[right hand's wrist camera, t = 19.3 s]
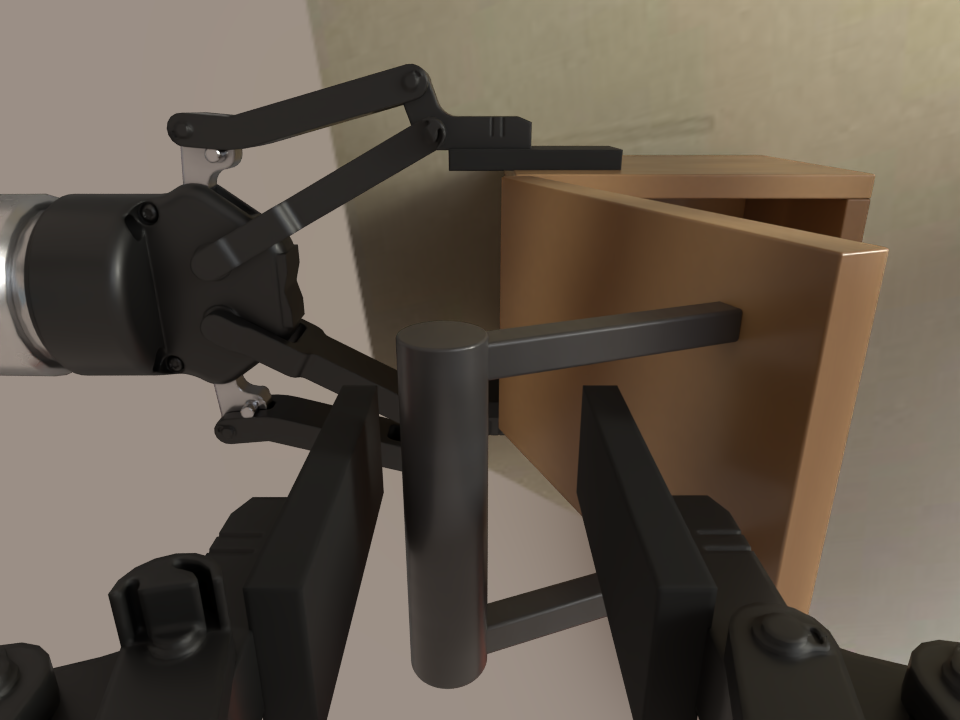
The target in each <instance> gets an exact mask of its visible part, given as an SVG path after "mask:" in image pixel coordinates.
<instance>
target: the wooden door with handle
mask: <svg viewBox="0 0 960 720" xmlns="http://www.w3.org/2000/svg"><path fill="white" fill-rule="evenodd" d="M888 252H889V249H888V248H886V247H882V246H877V245H872V244H867V243H862V242H857V241H852V240H847V239H842V238H837V237H832V236H827V235H822V234H817V233H812V232H807V231H802V230H797V229H792V228H787V227H782V226H777V225H773V224H768V223H763V222H758V221H753V220H748V219H743V218H738V217H733V216H728V215H723V214H718V213H713V212H708V211H703V210H698V209H693V208H688V207H683V206H678V205H673V204H668V203H663V202H658V201H654V200H649V199H644V198H639V197H634V196H629V195H624V194H619V193H614V192H609V191H604V190H599V189H594V188H589V187H584V186H579V185H574V184H569V183H564V182H559V181H554V180H549V179H544V178H539V177H534V176H507V177H502V178H501V267H500V329H499V330H491V331H486V330H484V329H483V328H481V327H479V326H477V325H473V324H470V323H465V322H458V321H431V322H423V323H418V324H414V325H411V326H408V327H406V328H404V329H402V330H401V331H399V332H398V334H397V336H396V352H397V373H398V394H399V415H400V436H401V457H402V478H403V499H404V519H405V540H406V561H407V582H408V603H409V623H410V645H411V663H412V667H413V670H414V672H415V673H416V674H417V676H418V677H419V678H420V679H421V680H422V681H423V682H425V683H427V684H428V685H431V686H433V687H437V688H442V689H453V688H458V687H462V686H465V685H467V684H469V683H471V682H473V681H474V680H475V679H476V678H478V676H479V675H480V674H481V673H482V671H483V670H484V668H485V665H486V662H487V654H488V653H492V652H495V651H498V650H501V649H505V648H508V647H511V646H514V645H517V644H520V643H524V642H527V641H530V640H533V639H536V638H539V637H543V636H546V635H549V634H552V633H556V632H559V631H562V630H565V629H568V628H571V627H575V626H578V625H581V624H584V623H588V622H591V621H594V620H597V619H600V618H603V617H607V613H606V609H605V605H604V601H603V597H602V593H601V589H600V585H599V581H598V577H597V573H594V574H590V575H587V576H583V577H580V578H576V579H573V580H569V581H566V582H562V583H559V584H555V585H552V586H548V587H545V588H541V589H538V590H534V591H531V592H527V593H524V594H520V595H517V596H513V597H509V598H506V599H503V600H499V601H495V602H492V603H488V604H487V563H488V562H487V561H488V380H495V379H499V429H500V430H501V431H502V432H503V433H504V434H505V435H506V437H507V438H508V439H509V440H510V441H511V442H512V443H513V444H514V445H515V446H516V447H517V448H518V449H519V450H520V451H521V452H522V453H523V454H524V455H525V457H526V458H527V459H528V460H529V461H530V462H531V463H532V464H533V465H534V466H535V467H536V468H537V469H538V470H539V471H540V472H541V473H542V474H543V475H544V477H545V478H546V479H547V480H548V481H549V482H550V483H551V484H552V485H553V486H554V487H555V488H556V489H557V490H558V491H559V492H560V493H561V494H562V495H563V497H564V498H565V499H566V500H567V501H568V502H569V503H570V504H571V505H572V506H573V507H574V508H575V509H576V510H577V511H578V512H579V513H580V514H581V515H582V513H581V509H580V505H579V501H578V497H577V493H576V490H577V473H578V456H579V440H580V423H581V407H582V390H583V385H617V386H618V388H619V390H620V392H621V394H622V396H623V398H624V400H625V402H626V404H627V406H628V408H629V410H630V412H631V414H632V416H633V418H634V420H635V422H636V424H637V426H638V428H639V430H640V432H641V434H642V436H643V438H644V440H645V442H646V444H647V446H648V449H649V451H650V453H651V455H652V457H653V459H654V461H655V463H656V465H657V467H658V469H659V471H660V473H661V475H662V477H663V479H664V481H665V483H666V485H667V487H668V489H669V491H670V493H671V495H708V496H709V497H711V498H712V499H713V500H715V501H716V502H717V503H718V504H720V505H721V506H722V507H724V508H725V509H726V510H728V511H729V512H730V514H731V515H732V517H733V519H734V520H735V522H736V523H737V525H738V527H739V528H740V530H741V535H744V536H745V538H746V540H747V541H748V543H749V544H750V546H751V551H754V553H755V554H756V556H757V557H758V559H759V561H760V562H761V564H762V565H763V567H764V569H765V570H766V572H767V574H768V575H769V577H770V578H771V580H772V582H773V583H774V585H775V587H776V588H777V590H778V591H779V593H780V595H781V596H782V598H783V599H784V601H785V603H786V604H787V606H789V607H792V608H795V609H797V610H799V611H801V612H803V613H805V614H807V615H808V613H809V608H810V604H811V599H812V594H813V590H814V585H815V581H816V576H817V572H818V567H819V563H820V558H821V554H822V549H823V545H824V540H825V536H826V531H827V527H828V522H829V518H830V513H831V509H832V504H833V500H834V495H835V491H836V486H837V482H838V477H839V473H840V468H841V464H842V459H843V455H844V450H845V446H846V441H847V437H848V432H849V428H850V423H851V419H852V414H853V410H854V405H855V401H856V396H857V392H858V387H859V383H860V378H861V374H862V369H863V365H864V360H865V356H866V351H867V347H868V342H869V338H870V333H871V329H872V324H873V320H874V315H875V311H876V306H877V302H878V297H879V293H880V288H881V284H882V279H883V275H884V270H885V266H886V261H887V257H888Z"/></svg>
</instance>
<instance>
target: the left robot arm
mask: <svg viewBox="0 0 960 720" xmlns="http://www.w3.org/2000/svg"><path fill="white" fill-rule="evenodd" d="M401 105H404V107H405V110H406V113H407V115H408V118H409V120H410V123H411V126H410V127H408V128H406V129H404V130H403V131H401V132H399V133H398V134H396V135H394V136H393V137H391V138H389V139H388V140H386V141H384V142H383V143H381V144H379V145H378V146H376V147H374V148H372V149H371V150H369V151H367V152H366V153H364V154H362V155H361V156H359V157H357V158H356V159H354V160H352V161H351V162H349V163H347V164H346V165H344V166H342V167H341V168H339V169H337V170H335V171H334V172H332V173H330V174H329V175H327V176H325V177H324V178H322V179H320V180H319V181H317V182H315V183H314V184H312V185H310V186H309V187H307V188H305V189H304V190H302V191H300V192H298V193H297V194H295V195H294V196H292V197H290V198H288V199H287V200H285V201H283V202H281V203H280V204H278V205H276V206H274V207H273V208H271V209H269V210H268V211H266V212H264V213H263V214H261V213H260V212H258V211H257V210H255V209H254V208H252V207H251V206H249V205H248V204H246V203H245V202H243V201H242V200H240V199H239V198H237V197H236V196H234V195H233V194H231V193H230V192H228V191H227V190H225V189H224V188H222V187H221V186H219V185H218V184H217V177H218V175H219V173H220V172H221V171H222V170H224V169H228V168H232V167H235V166H237V165H238V164H239V163H240V161H241V159H242V149H244V148H250V147H256V146H261V145H266V144H270V143H274V142H277V141H281V140H284V139H288V138H291V137H295V136H298V135H301V134H305V133H308V132H312V131H315V130H319V129H322V128H326V127H329V126H332V125H336V124H339V123H343V122H346V121H350V120H353V119H357V118H360V117H363V116H367V115H370V114H374V113H377V112H381V111H384V110H388V109H391V108H394V107H398V106H401ZM531 129H532V122H530V121H527V120H525V119H523V118H521V117H518V116H453V115H450V114H448V113H447V112H445V111H444V110H443V109H442V108H441V106H440V104H439V102H438V99H437V97H436V94H435V91H434V88H433V85H432V83H431V79H430V77H429V75H428V73H427V72H426V71H425V70H423V69H422V68H421V67H419V66H417V65H414V64H406V65H402V66H399V67H396V68H392V69H389V70H385V71H382V72H379V73H375V74H372V75H369V76H365V77H362V78H358V79H355V80H352V81H348V82H345V83H341V84H338V85H335V86H331V87H328V88H325V89H321V90H318V91H314V92H311V93H308V94H304V95H301V96H297V97H294V98H291V99H287V100H284V101H281V102H277V103H274V104H270V105H267V106H264V107H260V108H257V109H253V110H250V111H247V112H243V113H240V114H237V115H229V114H218V113H207V112H203V113H177V114H174V115H173V116H171V117H170V119H169V121H168V123H167V131H168V135H169V137H170V138H171V140H172V141H173V142H175V143H176V144H177V145H179V146H181V159H182V173H183V185H181V186H179V187H177V188H176V189H174V190H173V191H171V192H169V193H165V194H70V195H65V196H62V197H60V198H58V197H55V196H51V195H48V194H0V375H6V376H61V375H67V374H70V373H72V372H73V373H76V374H80V375H168V374H189V375H193V376H196V377H198V378H201V379H203V380H205V381H207V382H209V383H213V384H214V387H215V391H216V395H217V399H218V403H219V407H220V411H221V415H222V417H221V419H220V420H219V421H218V422H217V424H216V426H215V428H214V430H215V435H216V437H217V438H218V439H219V440H220V441H221V442H224V443H226V444H237V443H249V442H262V441H271V442H276V443H280V444H285V445H289V446H293V447H297V448H302V449H306V450H311V449H312V446H313V444H314V442H315V440H316V438H317V436H318V434H319V432H320V430H321V428H322V426H323V424H324V422H325V420H326V418H327V416H328V414H329V412H330V410H331V408H332V406H333V405H329V404H325V403H321V402H316V401H312V400H308V399H304V398H300V397H294V396H289V395H271V394H270V392H269V389H268V388H267V387H265V386H257V385H252V384H250V383H249V382H247V381H246V380H245V378H244V376H243V374H244V373H246V372H247V371H248V370H250V369H251V368H253V367H254V366H255V365H257V364H258V363H259V362H260V363H262V364H264V365H266V366H268V367H270V368H272V369H274V370H277V371H279V372H281V373H283V374H285V375H287V376H290V377H294V378H296V377H303V378H306V379H308V380H310V381H312V382H314V383H316V384H318V385H320V386H322V387H324V388H326V389H329V390H331V391H333V392H335V393H337V394H339V392H340V390H341V388H342V386H343V385H377V390H378V407H379V414H381V415H383V416H385V417H387V418H384V417H380V416H379V423H380V440H381V456H382V467H385V468H389V469H394V470H398V471H402V457H401V436H400V415H399V394H398V373H397V370H395V369H393V368H391V367H389V366H387V365H385V364H383V363H381V362H379V361H377V360H375V359H373V358H371V357H369V356H367V355H365V354H363V353H361V352H359V351H357V350H355V349H353V348H351V347H349V346H347V345H344V344H343V343H341V342H339V341H336V340H334V339H332V338H330V337H328V336H327V335H326V334H325V333H324V332H323V330H322V329H320V328H319V327H317V326H316V325H314V324H312V323H310V322H307V321H305V320H303V319H301V318H302V317H303V315H304V314H305V313H304V303H303V296H302V294H301V291H300V288H299V286H298V283H297V274H298V268H299V252H298V245H294V244H293V242H292V240H291V238H290V235H292V234H294V233H295V232H297V231H299V230H300V229H302V228H304V227H305V226H307V225H309V224H310V223H312V222H314V221H316V220H317V219H319V218H321V217H322V216H324V215H326V214H328V213H329V212H331V211H333V210H334V209H336V208H338V207H340V206H341V205H343V204H345V203H346V202H348V201H350V200H352V199H353V198H355V197H357V196H358V195H360V194H362V193H364V192H365V191H367V190H369V189H370V188H372V187H374V186H376V185H377V184H379V183H381V182H382V181H384V180H386V179H388V178H389V177H391V176H393V175H394V174H396V173H398V172H400V171H401V170H403V169H405V168H406V167H408V166H410V165H412V164H413V163H415V162H417V161H418V160H420V159H422V158H424V157H425V156H427V155H429V154H430V153H432V152H434V151H436V150H449V171H514V170H621V165H622V152H623V150H621V149H618V148H614V147H611V146H531ZM388 418H389V419H388ZM488 435H505V434H504V433H503V432H502V431H501V430H500V429H499V379H495V380H488Z"/></svg>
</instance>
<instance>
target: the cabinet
mask: <svg viewBox="0 0 960 720" xmlns="http://www.w3.org/2000/svg"><path fill="white" fill-rule="evenodd" d="M507 176H534V177H539V178H544V179H549V180H554V181H559V182H564V183H569V184H574V185H579V186H584V187H589V188H594V189H599V190H604V191H609V192H614V193H619V194H624V195H629V196H634V197H639V198H644V199H649V200H654V201H658V202H663V203H668V204H673V205H678V206H683V207H688V208H693V209H698V210H703V211H708V212H713V213H718V214H723V215H728V216H733V217H738V218H743V219H748V220H753V221H758V222H763V223H768V224H773V225H777V226H782V227H787V228H792V229H797V230H802V231H807V232H812V233H817V234H822V235H827V236H832V237H837V238H842V239H847V240H852V241H857V242H862V238H863V233H864V228H865V224H866V219H867V214H868V209H869V204H870V199H869V198H870V197H871V194H872V189H873V184H874V179H875V175H874V174H870V173H864V172H858V171H852V170H846V169H840V168H834V167H828V166H822V165H816V164H810V163H804V162H798V161H792V160H786V159H780V158H774V157H768V156H763V155H622V165H621V170H514V171H504V177H507Z"/></svg>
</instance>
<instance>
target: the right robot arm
mask: <svg viewBox="0 0 960 720" xmlns="http://www.w3.org/2000/svg"><path fill="white" fill-rule="evenodd" d="M383 493H384V490H383V473H382V456H381V440H380V423H379V407H378V390H377V385H343V386H342V388H341V390H340V392H339V394H338V396H337V398H336V400H335V402H334V404H333V406H332V408H331V410H330V412H329V414H328V416H327V418H326V420H325V422H324V424H323V426H322V428H321V430H320V432H319V434H318V436H317V438H316V440H315V442H314V444H313V446H312V449H311V451H310V453H309V455H308V457H307V459H306V461H305V463H304V465H303V467H302V469H301V471H300V473H299V475H298V477H297V479H296V481H295V483H294V485H293V487H292V489H291V491H290V493H289V495H288V497H252V498H251V499H250V500H248V501H247V502H246V503H245V504H243V505H242V506H241V507H239V508H238V509H237V510H235V511H234V512H233V513H231V515H230V516H229V518H228V520H227V521H226V523H225V524H224V526H223V528H222V529H221V531H220V533H219V537H217V538H216V539H215V541H214V542H213V544H212V546H211V547H210V549H209V553H207V554H206V555H205V556H204V555H201V554H197V553H178V554H172V555H168V556H164V557H160V558H156V559H153V560H151V561H149V562H147V563H144V564H142V565H140V566H138V567H136V568H134V569H133V570H131V571H130V572H129V573H127V574H126V575H125V576H123V577H122V578H121V579H119V580H118V581H117V583H116V584H115V586H114V587H113V588H112V590H111V591H110V592H109V594H108V596H109V600H110V604H111V608H112V612H113V616H114V620H115V624H116V628H117V632H118V636H119V640H120V644H121V649H120V651H118V652H115V653H112V654H109V655H106V656H102V657H99V658H95V659H90V660H86V661H82V662H78V663H73V664H69V665H65V666H61V667H56V668H53V667H52V663H51V660H50V657H49V654H48V653H47V652H46V651H44V650H43V649H42V648H41V647H40V646H38V645H33V644H27V643H15V644H7V645H0V720H262V718H263V720H327V717H328V713H329V709H330V705H331V701H332V697H333V693H334V689H335V685H336V681H337V677H338V673H339V669H340V665H341V661H342V657H343V653H344V649H345V645H346V641H347V637H348V633H349V629H350V625H351V621H352V617H353V613H354V609H355V605H356V601H357V597H358V593H359V589H360V585H361V581H362V577H363V573H364V569H365V565H366V561H367V557H368V553H369V549H370V545H371V541H372V537H373V533H374V529H375V525H376V521H377V517H378V513H379V509H380V505H381V501H382V497H383ZM576 493H577V497H578V501H579V505H580V509H581V513H582V517H583V521H584V525H585V529H586V533H587V537H588V541H589V545H590V549H591V553H592V557H593V561H594V565H595V569H596V573H597V577H598V581H599V585H600V589H601V593H602V597H603V601H604V605H605V609H606V613H607V617H608V621H609V625H610V629H611V633H612V637H613V641H614V645H615V649H616V653H617V657H618V661H619V665H620V669H621V673H622V677H623V681H624V685H625V689H626V693H627V697H628V701H629V705H630V709H631V713H632V717H633V720H697V716H698V717H699V720H960V642H952V641H944V640H935V641H930V642H924V643H921V644H920V645H919V646H918V647H917V648H916V649H915V650H913V651H912V653H911V657H910V660H909V663H908V666H907V665H902V664H898V663H894V662H890V661H885V660H881V659H877V658H873V657H868V656H864V655H860V654H857V653H854V652H850V651H847V650H844V649H841V648H839V646H838V644H837V642H836V641H835V639H834V638H833V636H832V634H831V633H830V631H829V630H827V629H826V628H825V627H824V626H823V625H822V624H820V623H819V622H818V621H817V620H816V619H814V618H813V617H811V616H809V615H807V614H805V613H803V612H801V611H799V610H797V609H795V608H792V607H789V606H787V604H786V603H785V601H784V599H783V598H782V596H781V595H780V593H779V591H778V590H777V588H776V587H775V585H774V583H773V582H772V580H771V578H770V577H769V575H768V574H767V572H766V570H765V569H764V567H763V565H762V564H761V562H760V561H759V559H758V557H757V556H756V554H755V553H754V551H751V546H750V544H749V543H748V541H747V540H746V538H745V536H744V535H741V530H740V528H739V527H738V525H737V523H736V522H735V520H734V519H733V517H732V515H731V514H730V512H729V511H728V510H726V509H725V508H724V507H722V506H721V505H720V504H718V503H717V502H716V501H715V500H713V499H712V498H711V497H709V496H708V495H671V493H670V491H669V489H668V487H667V485H666V483H665V481H664V479H663V477H662V475H661V473H660V471H659V469H658V467H657V465H656V463H655V461H654V459H653V457H652V455H651V453H650V451H649V449H648V446H647V444H646V442H645V440H644V438H643V436H642V434H641V432H640V430H639V428H638V426H637V424H636V422H635V420H634V418H633V416H632V414H631V412H630V410H629V408H628V406H627V404H626V402H625V400H624V398H623V396H622V394H621V392H620V390H619V388H618V386H617V385H583V390H582V407H581V423H580V440H579V456H578V473H577V490H576Z"/></svg>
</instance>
